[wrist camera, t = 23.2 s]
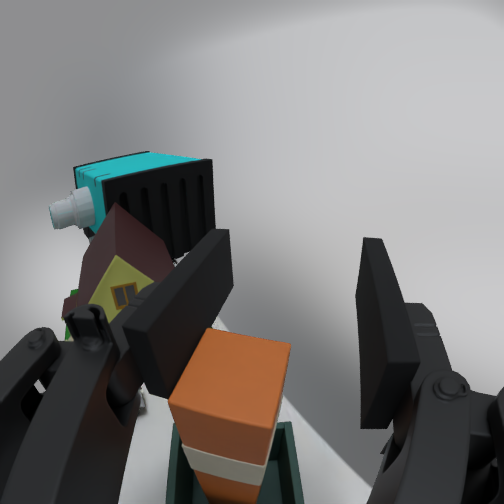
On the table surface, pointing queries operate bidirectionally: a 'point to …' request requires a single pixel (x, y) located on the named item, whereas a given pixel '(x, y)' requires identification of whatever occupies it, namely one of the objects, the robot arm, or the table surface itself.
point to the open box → (274, 481)
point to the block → (230, 412)
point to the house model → (118, 265)
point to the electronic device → (144, 197)
